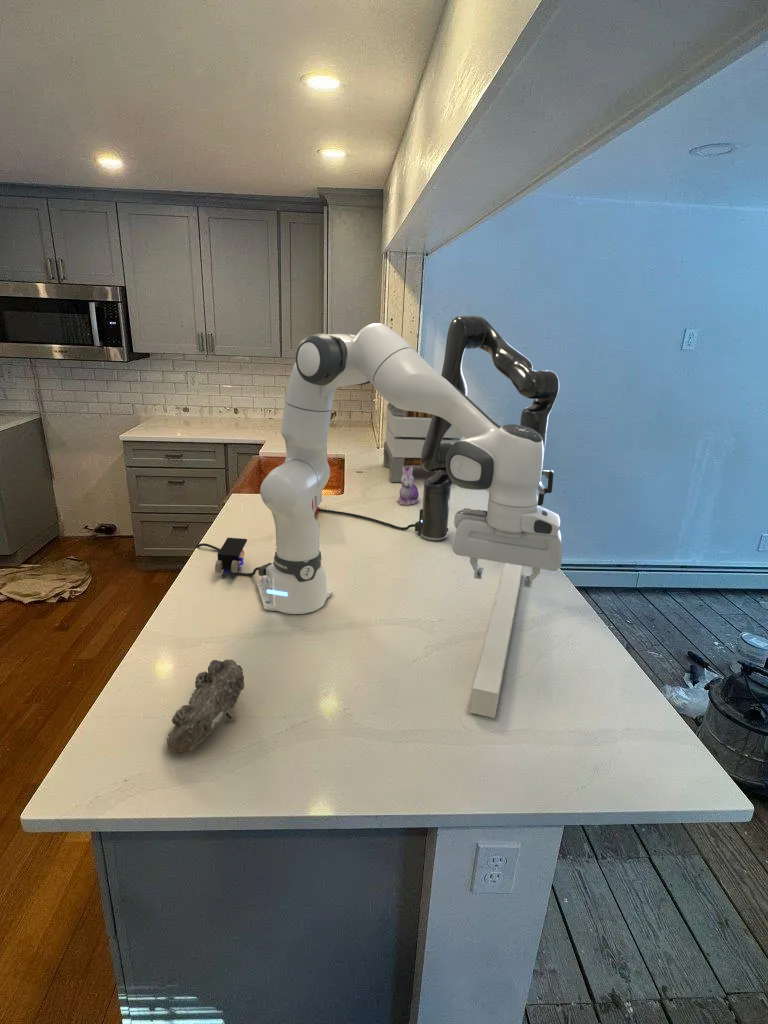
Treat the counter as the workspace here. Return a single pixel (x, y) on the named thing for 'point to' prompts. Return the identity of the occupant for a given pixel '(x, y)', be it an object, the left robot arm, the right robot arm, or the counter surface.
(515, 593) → the beam
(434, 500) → the right robot arm
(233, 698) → the fossil
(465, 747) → the counter surface
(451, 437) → the grey wooden crate
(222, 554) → the black wheeled block
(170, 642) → the counter surface
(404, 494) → the figurine
